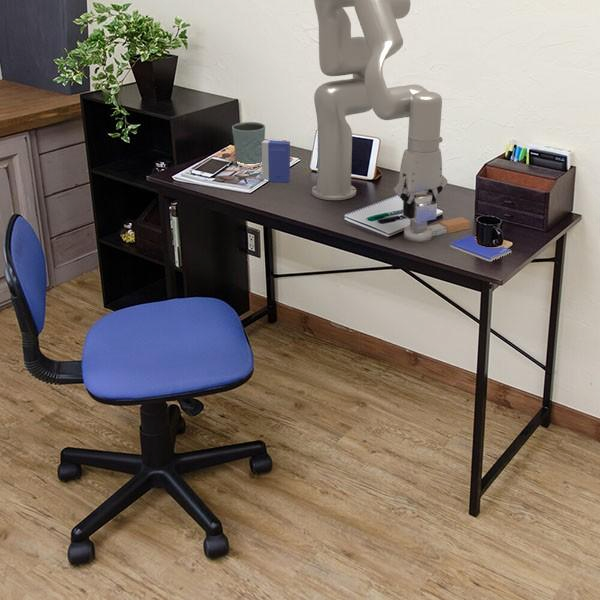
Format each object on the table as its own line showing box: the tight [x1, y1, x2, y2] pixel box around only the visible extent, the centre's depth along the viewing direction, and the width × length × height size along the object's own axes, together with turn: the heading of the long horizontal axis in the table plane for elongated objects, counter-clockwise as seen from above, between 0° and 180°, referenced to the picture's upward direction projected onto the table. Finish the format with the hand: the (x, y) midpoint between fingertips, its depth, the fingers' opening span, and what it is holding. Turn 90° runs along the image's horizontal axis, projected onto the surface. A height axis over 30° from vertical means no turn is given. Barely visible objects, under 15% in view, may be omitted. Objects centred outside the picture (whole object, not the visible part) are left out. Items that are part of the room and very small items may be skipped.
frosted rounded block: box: [401, 190, 438, 223], centre depth 229 cm, size 6×6×6 cm
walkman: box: [261, 139, 291, 183], centre depth 270 cm, size 8×3×12 cm, turn 79°
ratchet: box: [403, 216, 471, 243], centre depth 234 cm, size 18×7×5 cm, turn 119°
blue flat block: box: [449, 235, 512, 263], centre depth 225 cm, size 2×8×12 cm
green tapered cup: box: [231, 121, 266, 164], centre depth 284 cm, size 10×10×12 cm
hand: (419, 214), depth 230 cm, fingers closed on frosted rounded block, 6 cm apart
